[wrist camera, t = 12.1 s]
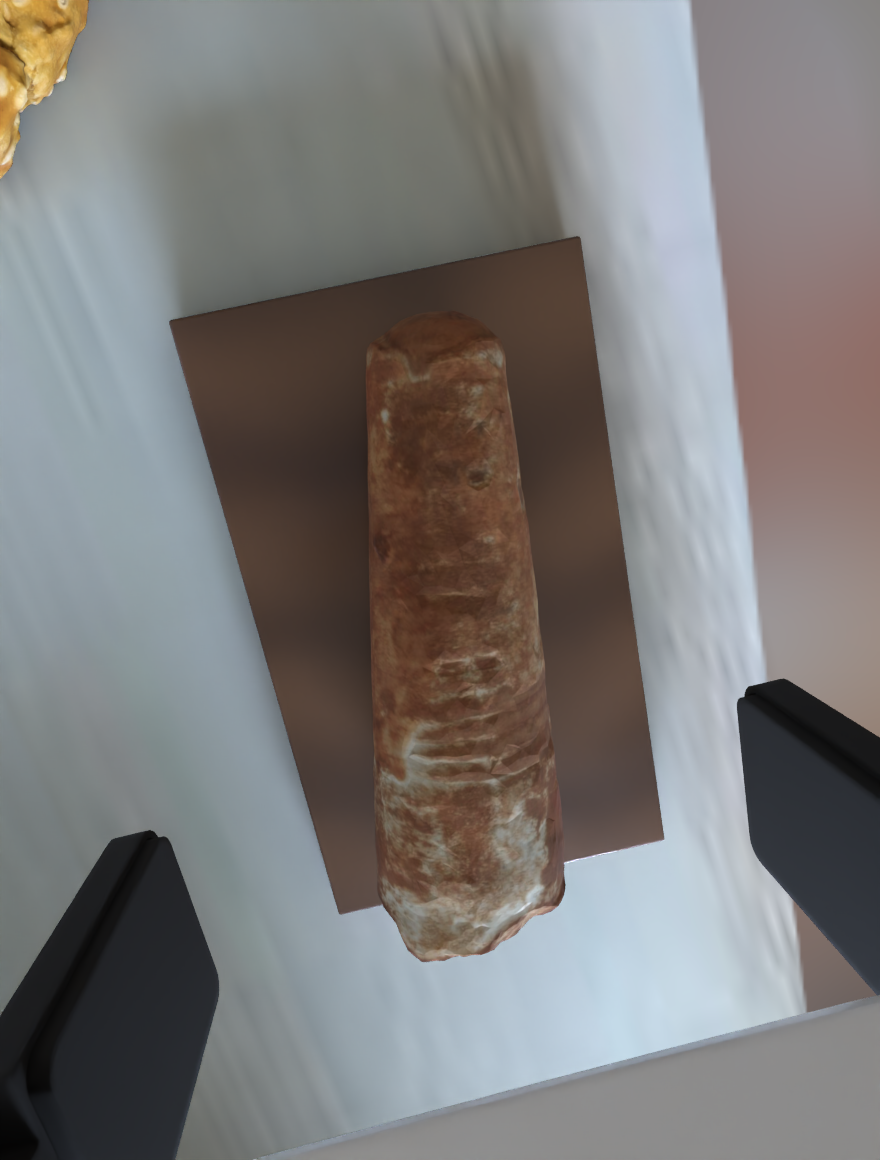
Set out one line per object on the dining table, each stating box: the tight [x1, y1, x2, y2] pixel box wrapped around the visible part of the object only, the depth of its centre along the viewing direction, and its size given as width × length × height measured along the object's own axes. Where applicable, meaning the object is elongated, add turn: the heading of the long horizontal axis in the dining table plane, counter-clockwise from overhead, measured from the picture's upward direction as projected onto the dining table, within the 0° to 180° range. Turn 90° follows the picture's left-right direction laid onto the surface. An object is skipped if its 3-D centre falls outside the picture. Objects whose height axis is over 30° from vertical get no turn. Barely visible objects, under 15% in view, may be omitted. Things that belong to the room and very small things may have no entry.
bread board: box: [169, 236, 664, 915], centre depth 24 cm, size 22×13×2 cm, turn 12°
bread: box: [366, 310, 565, 962], centre depth 20 cm, size 6×19×6 cm, turn 2°
